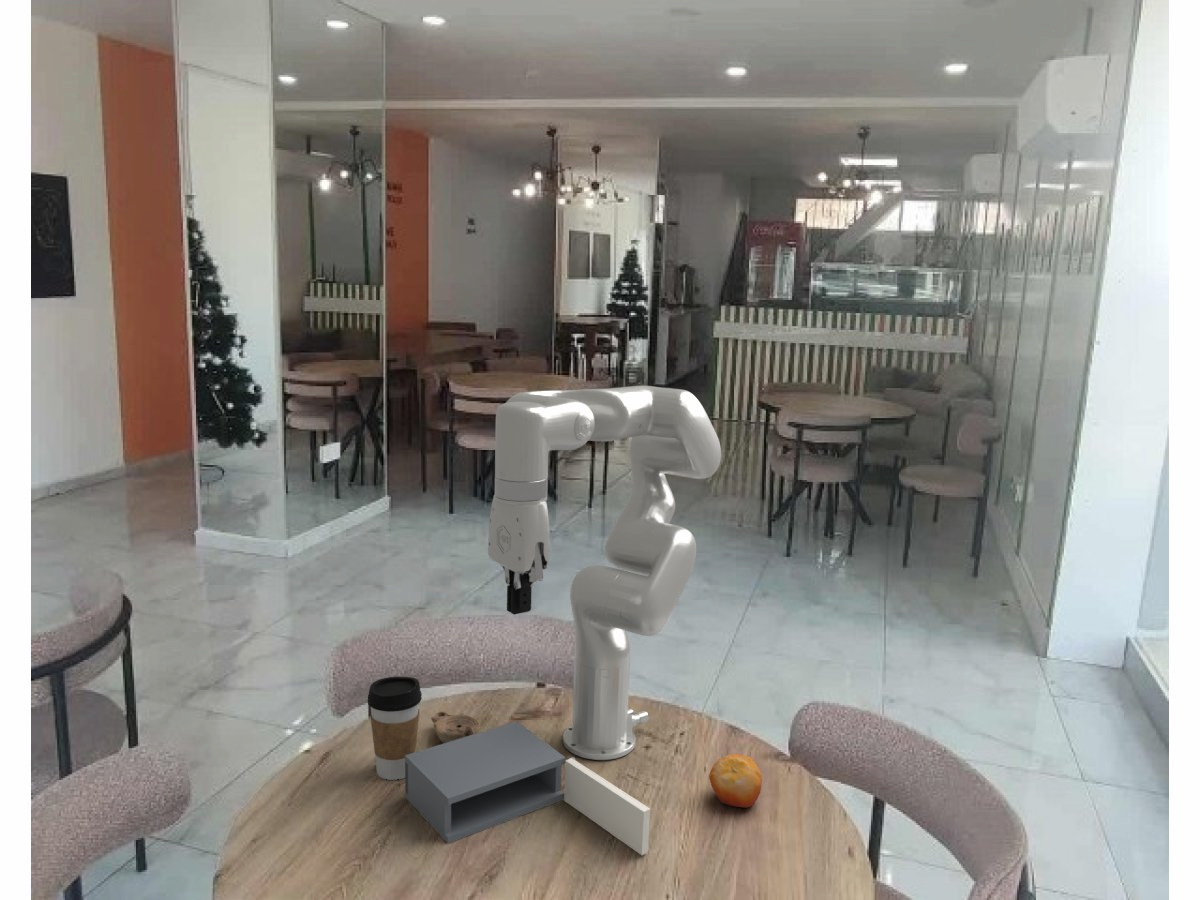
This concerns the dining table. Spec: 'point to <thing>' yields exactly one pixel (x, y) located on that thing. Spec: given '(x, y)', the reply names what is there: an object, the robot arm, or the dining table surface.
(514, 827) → the dining table surface
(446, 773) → the cabinet
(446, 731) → the oil lamp
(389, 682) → the coffee cup
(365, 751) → the dining table surface
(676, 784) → the dining table surface
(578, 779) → the door
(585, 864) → the dining table surface
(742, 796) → the fruit
